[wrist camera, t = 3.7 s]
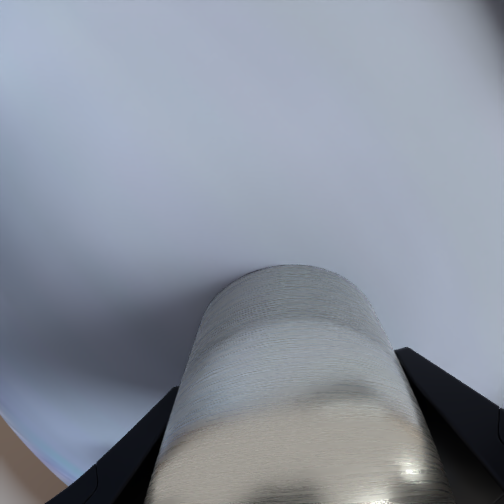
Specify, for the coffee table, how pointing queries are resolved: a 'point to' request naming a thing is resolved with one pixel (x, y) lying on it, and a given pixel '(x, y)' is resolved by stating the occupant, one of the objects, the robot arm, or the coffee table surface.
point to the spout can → (295, 403)
